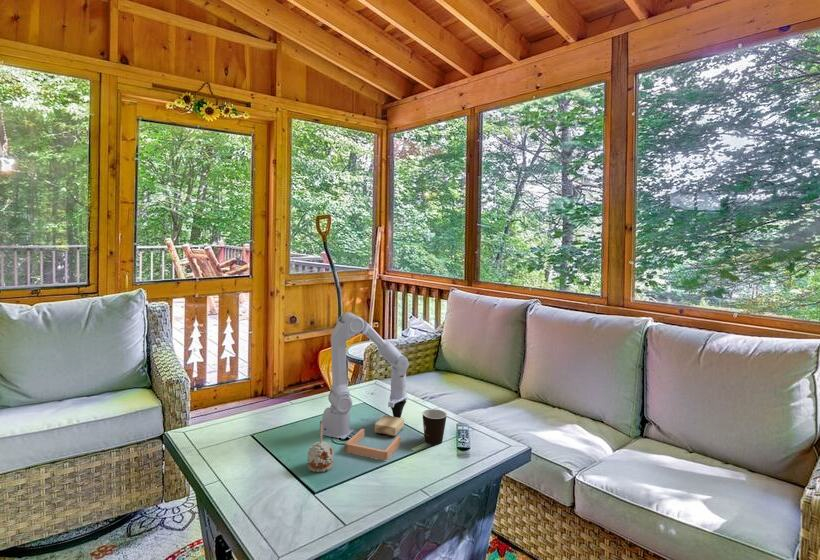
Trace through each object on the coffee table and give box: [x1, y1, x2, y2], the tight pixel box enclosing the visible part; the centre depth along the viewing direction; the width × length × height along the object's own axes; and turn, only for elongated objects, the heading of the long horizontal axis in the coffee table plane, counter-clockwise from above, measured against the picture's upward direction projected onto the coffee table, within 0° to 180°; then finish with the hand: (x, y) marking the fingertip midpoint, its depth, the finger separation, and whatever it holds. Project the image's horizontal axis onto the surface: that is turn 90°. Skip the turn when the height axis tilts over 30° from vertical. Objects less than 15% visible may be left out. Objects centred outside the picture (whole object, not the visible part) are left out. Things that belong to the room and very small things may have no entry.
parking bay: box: [344, 428, 402, 461], centre depth 157 cm, size 15×13×3 cm
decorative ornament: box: [307, 419, 335, 473], centre depth 143 cm, size 8×8×15 cm
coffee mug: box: [422, 408, 448, 446], centre depth 165 cm, size 12×9×10 cm
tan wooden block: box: [374, 414, 405, 438], centre depth 170 cm, size 8×9×4 cm
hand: (397, 419), depth 177 cm, fingers closed
